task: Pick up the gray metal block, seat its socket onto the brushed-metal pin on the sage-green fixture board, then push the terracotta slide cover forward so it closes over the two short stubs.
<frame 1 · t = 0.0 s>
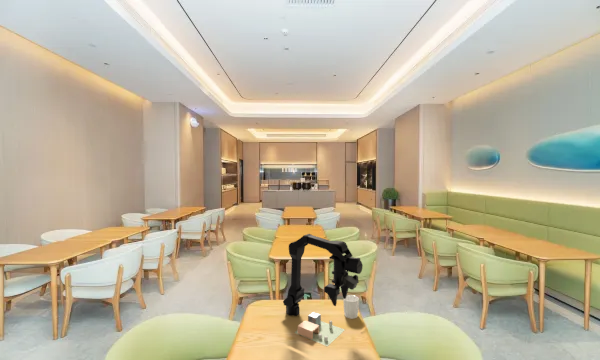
hand: (339, 302, 139), 15 cm above the table, fingers open, 9 cm apart
cover: (308, 329, 137), point 3 cm above the table, slide at 0.0 cm
white cup: (351, 317, 154), on the table
board: (319, 333, 139), on the table
gray metal block: (314, 325, 145), point 1 cm above the table, touching board
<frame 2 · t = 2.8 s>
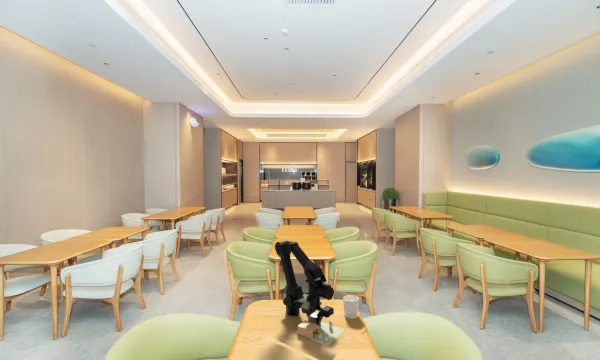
hand: (314, 324, 145), 1 cm above the table, fingers closed on gray metal block, 4 cm apart
gray metal block: (314, 325, 145), point 1 cm above the table, touching board, gripper
everything else where it was.
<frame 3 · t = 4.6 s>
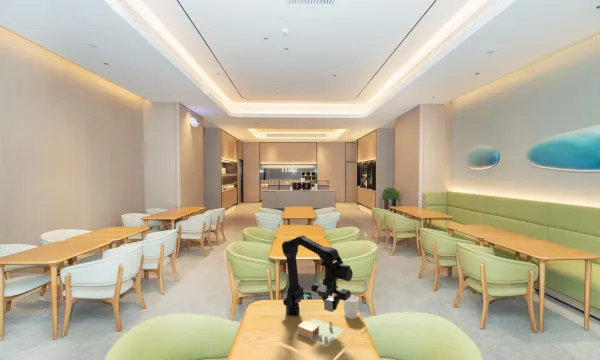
hand: (330, 308, 141), 11 cm above the table, fingers closed on gray metal block, 4 cm apart
gray metal block: (330, 308, 141), point 11 cm above the table, touching gripper
everything else where it was.
when the fingers open (3 cm above the table, at t = 6.7 s): gray metal block drops 1 cm, resting on board.
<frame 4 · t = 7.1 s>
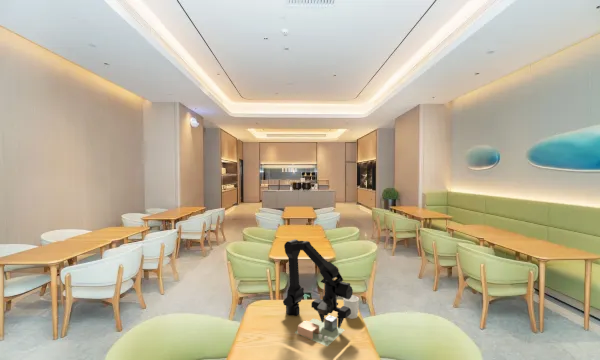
hand: (330, 325, 141), 3 cm above the table, fingers open, 9 cm apart
gray metal block: (330, 328, 141), point 1 cm above the table, touching board
everything else where it was.
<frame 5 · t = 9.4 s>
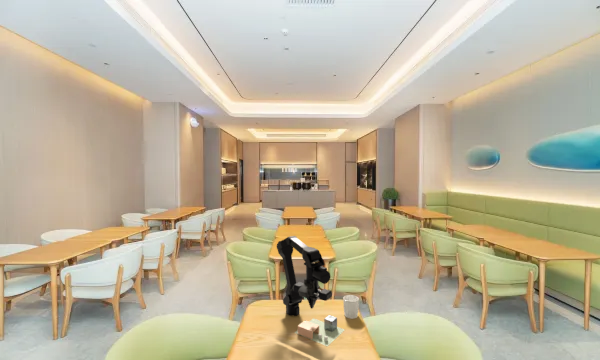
hand: (311, 308, 141), 11 cm above the table, fingers closed
nothing on the table moved.
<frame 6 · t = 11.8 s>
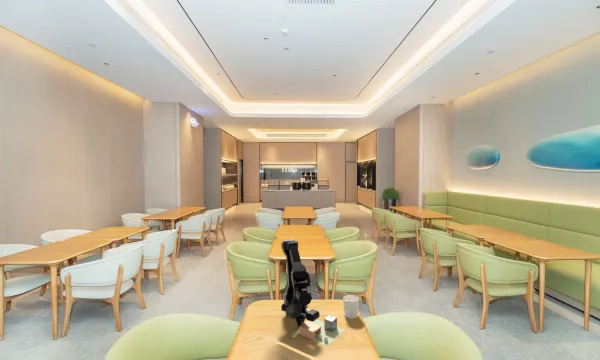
hand: (300, 328, 140), 2 cm above the table, fingers closed
cover: (310, 330, 136), point 3 cm above the table, slide at 1.0 cm, touching gripper
everything else where it was.
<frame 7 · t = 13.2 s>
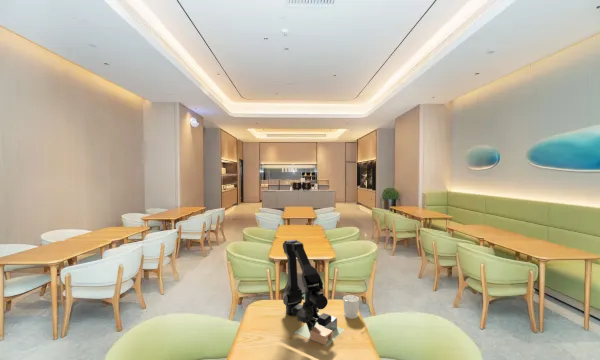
hand: (310, 332, 136), 2 cm above the table, fingers closed
cover: (321, 334, 133), point 3 cm above the table, slide at 7.1 cm, touching gripper
everything else where it was.
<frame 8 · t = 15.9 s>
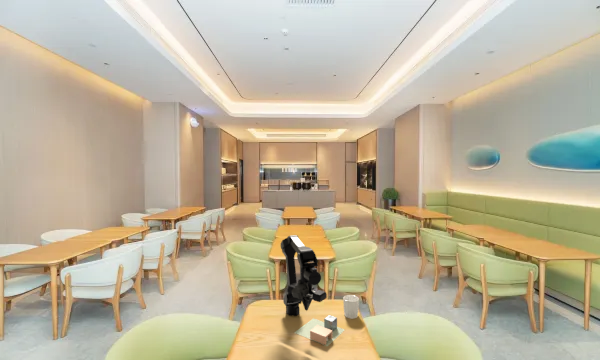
hand: (306, 310, 137), 12 cm above the table, fingers closed
cover: (321, 334, 133), point 3 cm above the table, slide at 7.0 cm
everything else where it was.
at the end: gray metal block 0.0 cm from the target spot on the board, point 1.0 cm above the board's base; gray metal block tilted 0°; cover slide at 7.0 cm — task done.
